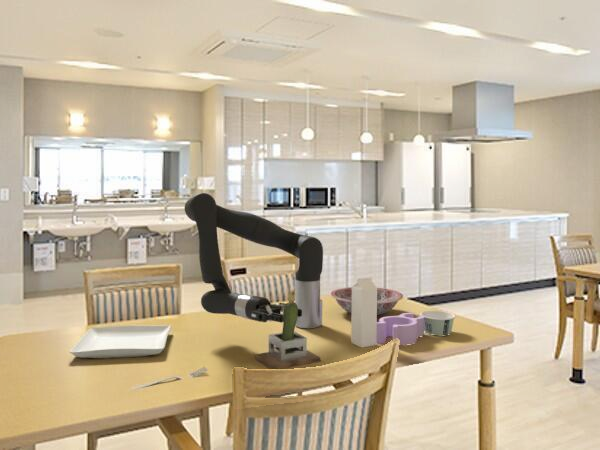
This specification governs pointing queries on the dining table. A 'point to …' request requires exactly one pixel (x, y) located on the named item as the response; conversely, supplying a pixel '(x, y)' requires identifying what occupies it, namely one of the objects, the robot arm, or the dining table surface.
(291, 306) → the vegetable
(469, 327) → the dining table surface
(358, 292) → the milk
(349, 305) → the ceramic bowl
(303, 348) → the gray slotted crate
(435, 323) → the food container
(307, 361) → the brown rectangular board
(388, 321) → the clip
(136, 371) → the dining table surface
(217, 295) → the robot arm
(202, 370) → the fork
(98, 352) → the square plate
